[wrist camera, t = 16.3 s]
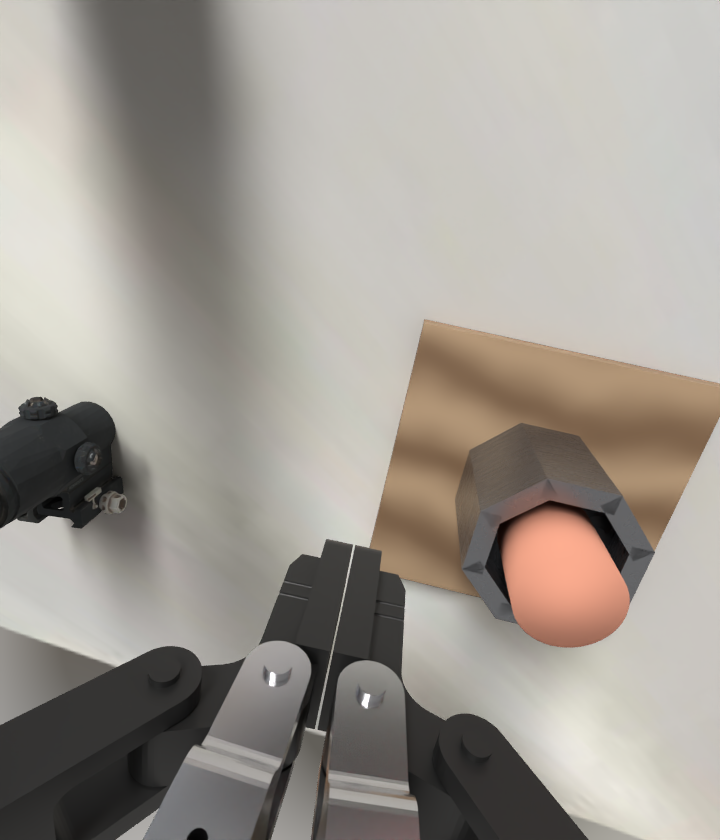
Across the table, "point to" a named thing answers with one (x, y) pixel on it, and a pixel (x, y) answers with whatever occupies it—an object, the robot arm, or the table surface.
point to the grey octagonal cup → (529, 487)
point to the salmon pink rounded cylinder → (561, 576)
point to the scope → (58, 464)
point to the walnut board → (535, 405)
